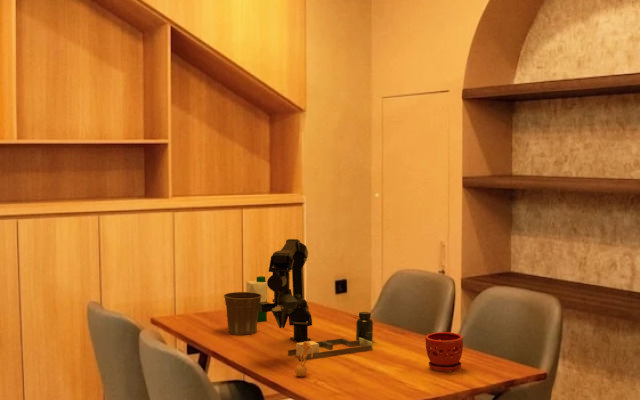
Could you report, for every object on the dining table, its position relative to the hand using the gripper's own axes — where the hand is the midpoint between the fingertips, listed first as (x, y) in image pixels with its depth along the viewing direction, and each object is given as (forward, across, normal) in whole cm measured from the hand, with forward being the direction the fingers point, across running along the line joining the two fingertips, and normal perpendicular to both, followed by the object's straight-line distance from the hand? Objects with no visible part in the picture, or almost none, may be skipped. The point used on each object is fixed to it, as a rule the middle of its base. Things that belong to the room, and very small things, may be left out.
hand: (281, 328), depth 287 cm
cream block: (+12, +11, 0) cm, 16 cm away
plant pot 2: (+12, +45, -39) cm, 61 cm away
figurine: (+12, -3, -22) cm, 25 cm away
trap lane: (+12, +21, +3) cm, 25 cm away
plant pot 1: (+12, +6, +48) cm, 50 cm away
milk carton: (+12, +21, +66) cm, 70 cm away
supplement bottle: (+12, +42, +8) cm, 44 cm away
